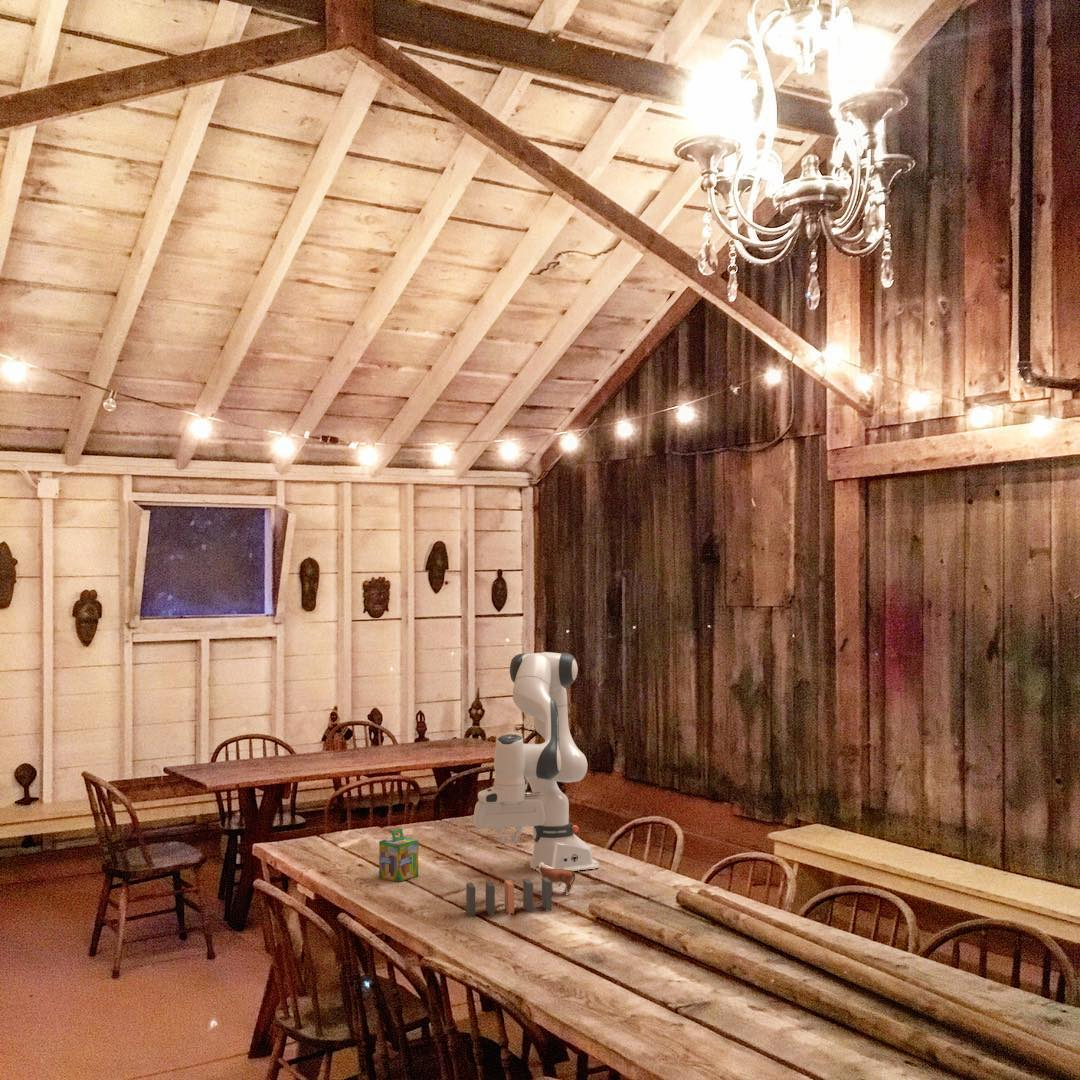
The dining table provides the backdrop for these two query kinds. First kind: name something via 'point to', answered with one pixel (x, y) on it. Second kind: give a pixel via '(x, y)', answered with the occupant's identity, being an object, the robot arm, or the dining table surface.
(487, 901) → the domino
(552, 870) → the bull figurine
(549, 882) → the domino
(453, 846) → the dining table surface
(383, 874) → the chalk box
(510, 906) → the domino
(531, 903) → the domino
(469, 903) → the domino
